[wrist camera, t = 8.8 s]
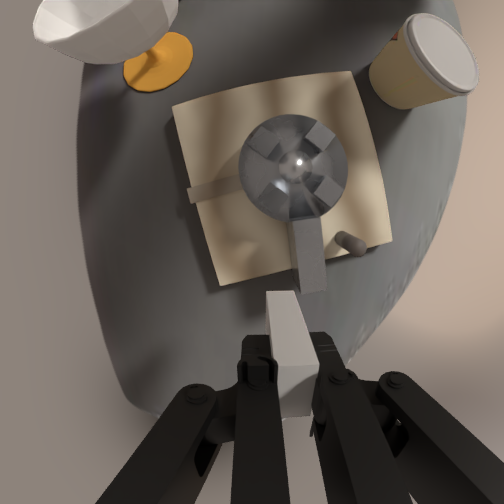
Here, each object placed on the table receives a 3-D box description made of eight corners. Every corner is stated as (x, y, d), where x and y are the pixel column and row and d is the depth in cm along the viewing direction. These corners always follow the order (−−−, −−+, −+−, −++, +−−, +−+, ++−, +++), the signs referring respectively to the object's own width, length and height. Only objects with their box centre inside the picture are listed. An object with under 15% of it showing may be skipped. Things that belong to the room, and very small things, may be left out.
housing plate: (345, 77, 25) (367, 53, 19) (385, 241, 30) (415, 255, 23) (172, 112, 26) (151, 93, 20) (219, 285, 31) (210, 311, 24)
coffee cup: (405, 51, 24) (453, 16, 12) (432, 112, 26) (492, 93, 14) (350, 54, 25) (391, 6, 13) (379, 121, 27) (439, 95, 15)
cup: (145, 19, 23) (93, -55, 6) (222, 36, 24) (202, -62, 8) (99, 90, 25) (11, 44, 9) (173, 114, 27) (98, 50, 10)
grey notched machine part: (232, 128, 25) (228, 115, 20) (329, 118, 25) (345, 105, 20) (257, 282, 29) (258, 301, 24) (347, 267, 28) (365, 282, 23)
